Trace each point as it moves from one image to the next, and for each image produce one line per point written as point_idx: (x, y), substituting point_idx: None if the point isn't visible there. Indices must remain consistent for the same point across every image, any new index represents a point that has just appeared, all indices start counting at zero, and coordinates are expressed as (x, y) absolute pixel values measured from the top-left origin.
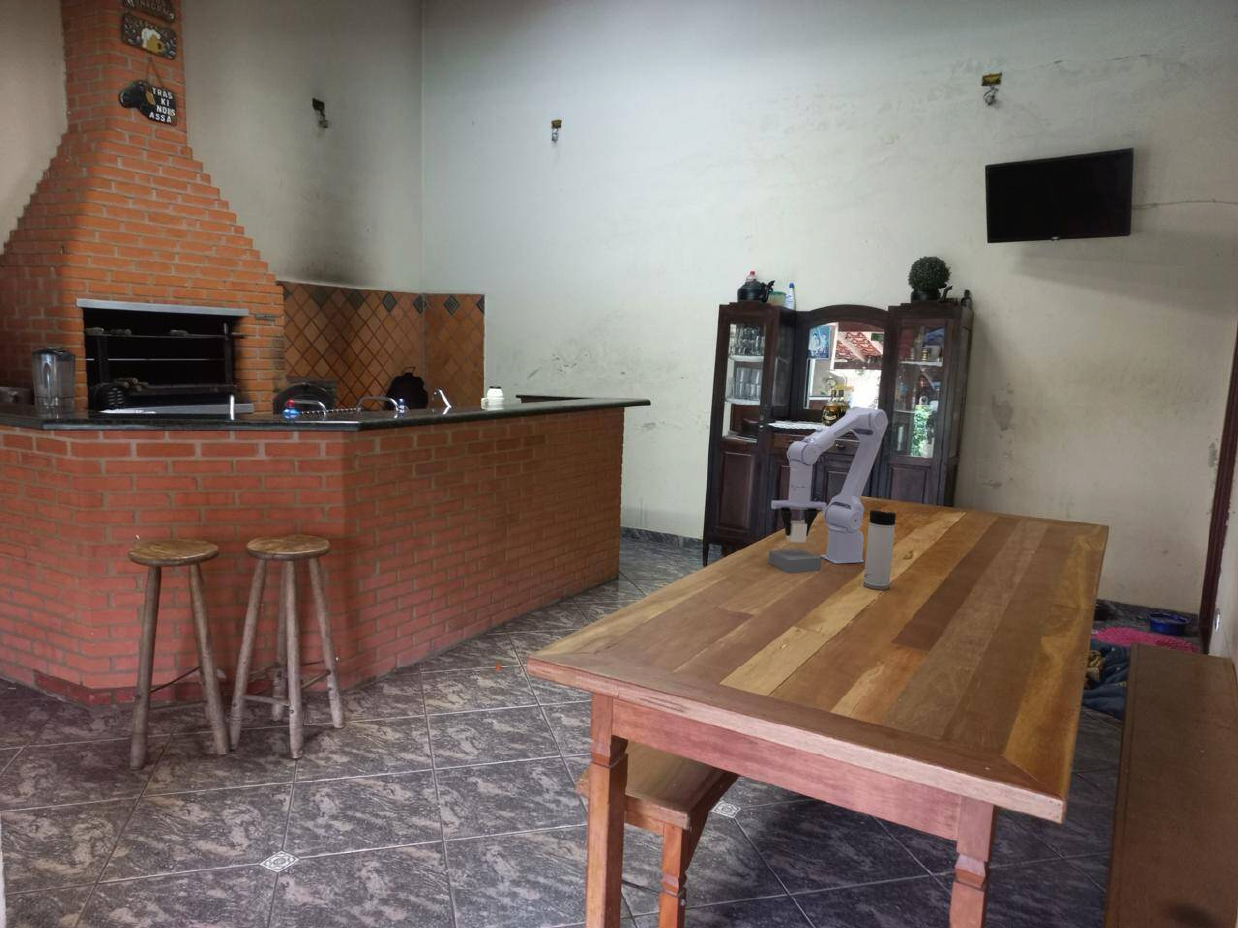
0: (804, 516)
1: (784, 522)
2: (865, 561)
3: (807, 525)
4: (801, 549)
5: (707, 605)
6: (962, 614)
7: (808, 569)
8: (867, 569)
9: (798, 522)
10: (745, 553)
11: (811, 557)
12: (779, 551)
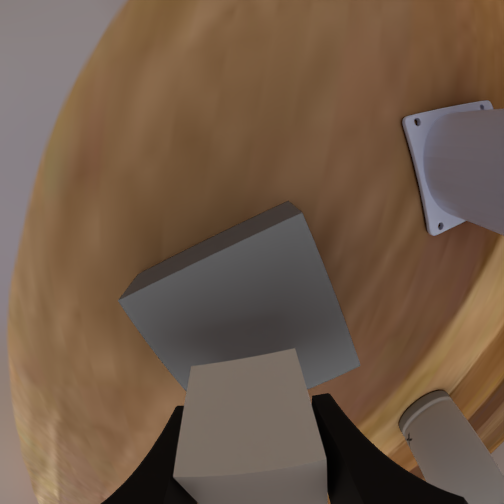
0: (359, 498)
1: (147, 471)
2: (426, 456)
3: (330, 494)
4: (307, 242)
5: (90, 493)
6: None
7: None
8: (414, 455)
9: (271, 497)
10: (54, 137)
11: (317, 375)
12: (169, 310)
